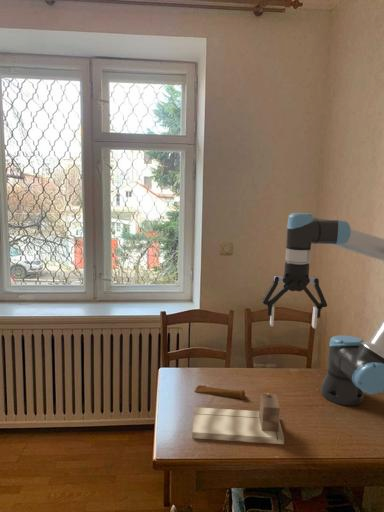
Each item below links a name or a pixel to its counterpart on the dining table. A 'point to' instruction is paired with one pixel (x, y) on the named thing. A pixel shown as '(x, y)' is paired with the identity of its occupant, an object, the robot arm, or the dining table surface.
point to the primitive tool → (220, 392)
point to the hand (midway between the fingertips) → (292, 326)
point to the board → (232, 426)
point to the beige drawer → (269, 412)
